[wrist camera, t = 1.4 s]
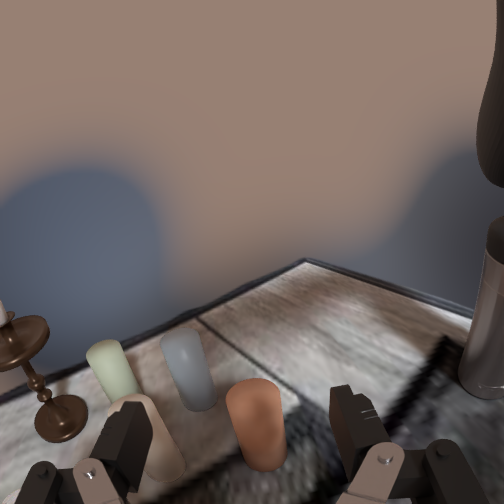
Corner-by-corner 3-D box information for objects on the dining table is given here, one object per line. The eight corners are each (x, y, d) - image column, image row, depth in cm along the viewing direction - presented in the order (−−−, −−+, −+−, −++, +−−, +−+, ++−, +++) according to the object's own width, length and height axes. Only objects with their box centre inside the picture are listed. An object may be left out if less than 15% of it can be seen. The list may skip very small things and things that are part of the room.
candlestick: (95, 389, 40) (8, 151, 27) (93, 443, 30) (-34, 154, 17) (38, 399, 37) (-53, 180, 24) (28, 450, 27) (-100, 194, 14)
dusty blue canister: (198, 382, 40) (178, 323, 37) (224, 393, 38) (207, 333, 34) (176, 402, 37) (151, 344, 33) (202, 416, 34) (180, 356, 31)
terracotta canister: (258, 432, 31) (245, 372, 28) (295, 446, 29) (289, 386, 25) (235, 461, 28) (214, 405, 24) (273, 478, 25) (261, 424, 22)
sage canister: (133, 391, 39) (107, 335, 36) (154, 404, 37) (127, 346, 33) (111, 409, 36) (79, 354, 32) (130, 424, 33) (98, 368, 30)
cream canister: (164, 444, 30) (132, 387, 27) (194, 462, 28) (164, 406, 24) (138, 468, 27) (98, 414, 23) (167, 489, 24) (128, 438, 21)
